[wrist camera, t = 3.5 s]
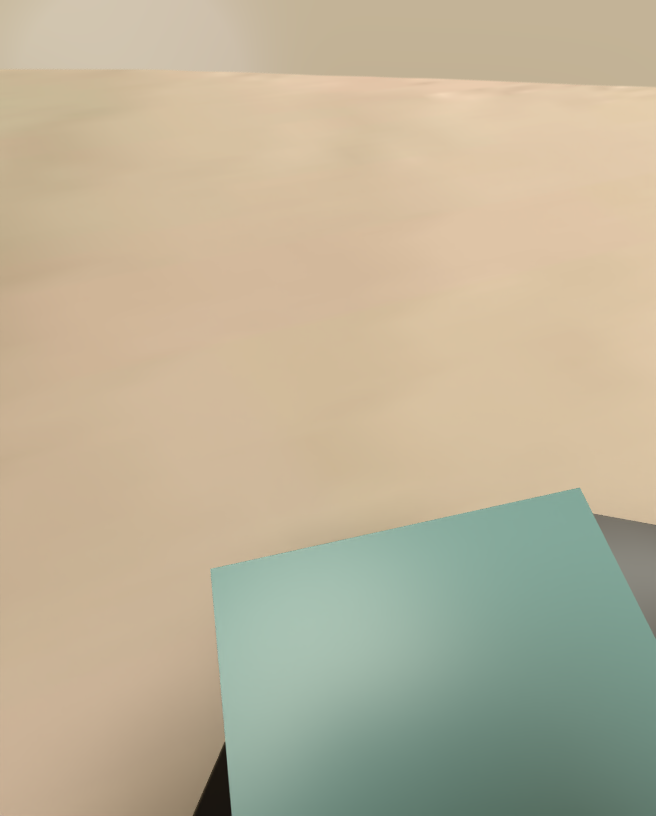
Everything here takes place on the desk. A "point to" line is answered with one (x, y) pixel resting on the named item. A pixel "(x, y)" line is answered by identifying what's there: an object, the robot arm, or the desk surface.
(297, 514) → the desk surface
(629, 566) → the flat grey base tile
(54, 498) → the desk surface
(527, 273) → the desk surface
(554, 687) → the teal rectangular pillar
